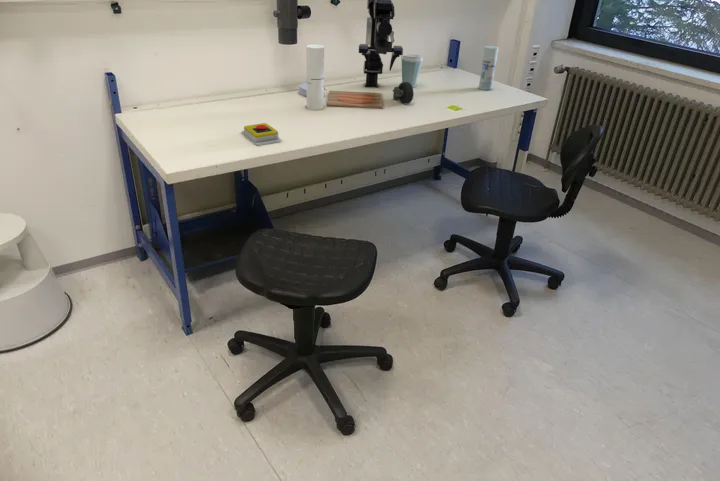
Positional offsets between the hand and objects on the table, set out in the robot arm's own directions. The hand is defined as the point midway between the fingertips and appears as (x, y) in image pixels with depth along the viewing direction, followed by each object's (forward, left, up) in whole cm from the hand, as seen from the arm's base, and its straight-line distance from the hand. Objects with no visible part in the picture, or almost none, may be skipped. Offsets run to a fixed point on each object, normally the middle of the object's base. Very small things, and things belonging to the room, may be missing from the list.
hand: (379, 70), depth 232 cm
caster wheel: (-4, +11, -14) cm, 18 cm away
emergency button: (+50, -44, -14) cm, 68 cm away
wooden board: (-2, -10, -14) cm, 17 cm away
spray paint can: (-31, +55, -14) cm, 65 cm away
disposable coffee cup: (-31, +17, -14) cm, 38 cm away
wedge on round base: (-8, -30, -14) cm, 34 cm away
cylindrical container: (+11, -27, -14) cm, 33 cm away
